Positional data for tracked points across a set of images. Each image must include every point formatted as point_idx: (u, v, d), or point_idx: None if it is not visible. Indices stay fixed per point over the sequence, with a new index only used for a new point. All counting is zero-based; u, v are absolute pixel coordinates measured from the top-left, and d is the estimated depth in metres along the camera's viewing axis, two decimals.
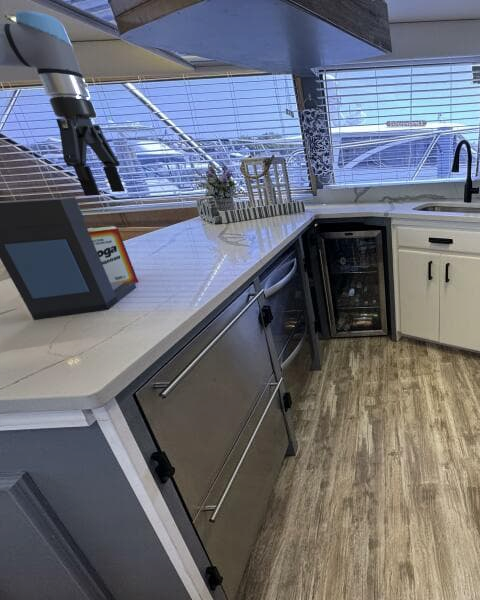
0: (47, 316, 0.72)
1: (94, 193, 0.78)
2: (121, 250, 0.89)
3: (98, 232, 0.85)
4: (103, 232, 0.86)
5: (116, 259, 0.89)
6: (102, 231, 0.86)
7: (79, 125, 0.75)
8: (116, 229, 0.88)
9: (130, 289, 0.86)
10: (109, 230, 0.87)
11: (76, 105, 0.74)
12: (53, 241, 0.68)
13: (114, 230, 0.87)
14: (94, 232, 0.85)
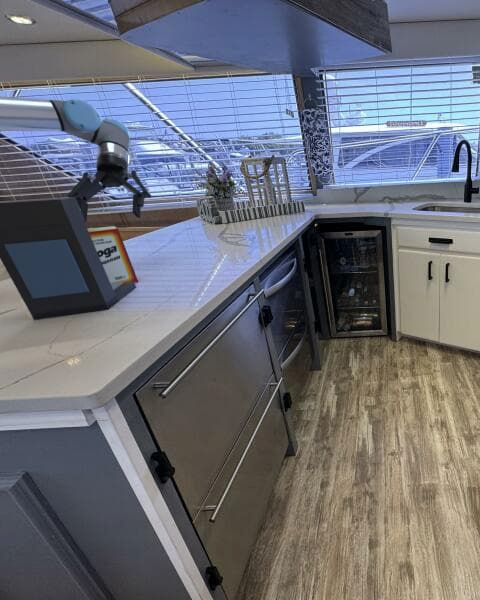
0: (47, 316, 0.72)
1: (138, 214, 0.98)
2: (121, 249, 0.89)
3: (98, 232, 0.85)
4: (103, 232, 0.86)
5: (116, 259, 0.89)
6: (102, 231, 0.86)
7: None
8: (116, 229, 0.88)
9: (130, 289, 0.86)
10: (109, 230, 0.87)
11: None
12: (53, 241, 0.68)
13: (114, 230, 0.87)
14: (94, 232, 0.85)
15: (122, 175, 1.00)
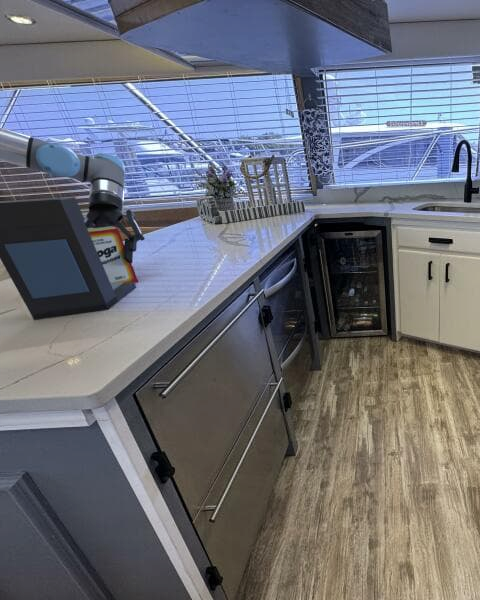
0: (47, 316, 0.72)
1: (131, 260, 0.90)
2: (121, 249, 0.89)
3: (98, 232, 0.85)
4: (103, 232, 0.86)
5: (116, 259, 0.89)
6: (102, 231, 0.86)
7: None
8: (116, 229, 0.88)
9: (130, 289, 0.86)
10: (109, 230, 0.87)
11: None
12: (53, 241, 0.68)
13: (114, 230, 0.87)
14: (94, 232, 0.85)
15: (116, 215, 0.93)
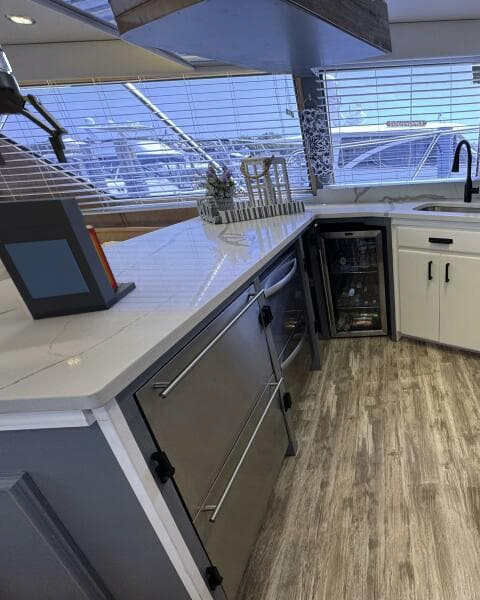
0: (47, 316, 0.72)
1: (65, 161, 0.91)
2: (98, 252, 0.79)
3: None
4: None
5: None
6: None
7: None
8: (92, 229, 0.77)
9: (130, 289, 0.86)
10: None
11: (16, 82, 0.83)
12: (53, 241, 0.68)
13: (90, 230, 0.77)
14: None
15: (18, 102, 0.83)
